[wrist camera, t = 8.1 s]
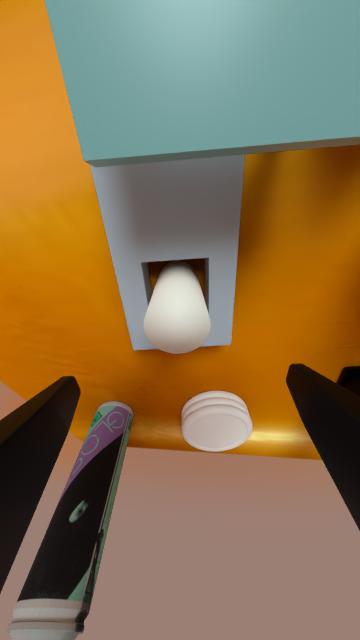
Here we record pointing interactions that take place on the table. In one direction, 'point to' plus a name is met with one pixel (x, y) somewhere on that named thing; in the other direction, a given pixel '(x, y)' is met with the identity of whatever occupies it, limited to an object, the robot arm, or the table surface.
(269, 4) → the l-shaped bracket
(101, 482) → the spray can
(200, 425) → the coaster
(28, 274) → the table surface
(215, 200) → the socket board
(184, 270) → the peg
